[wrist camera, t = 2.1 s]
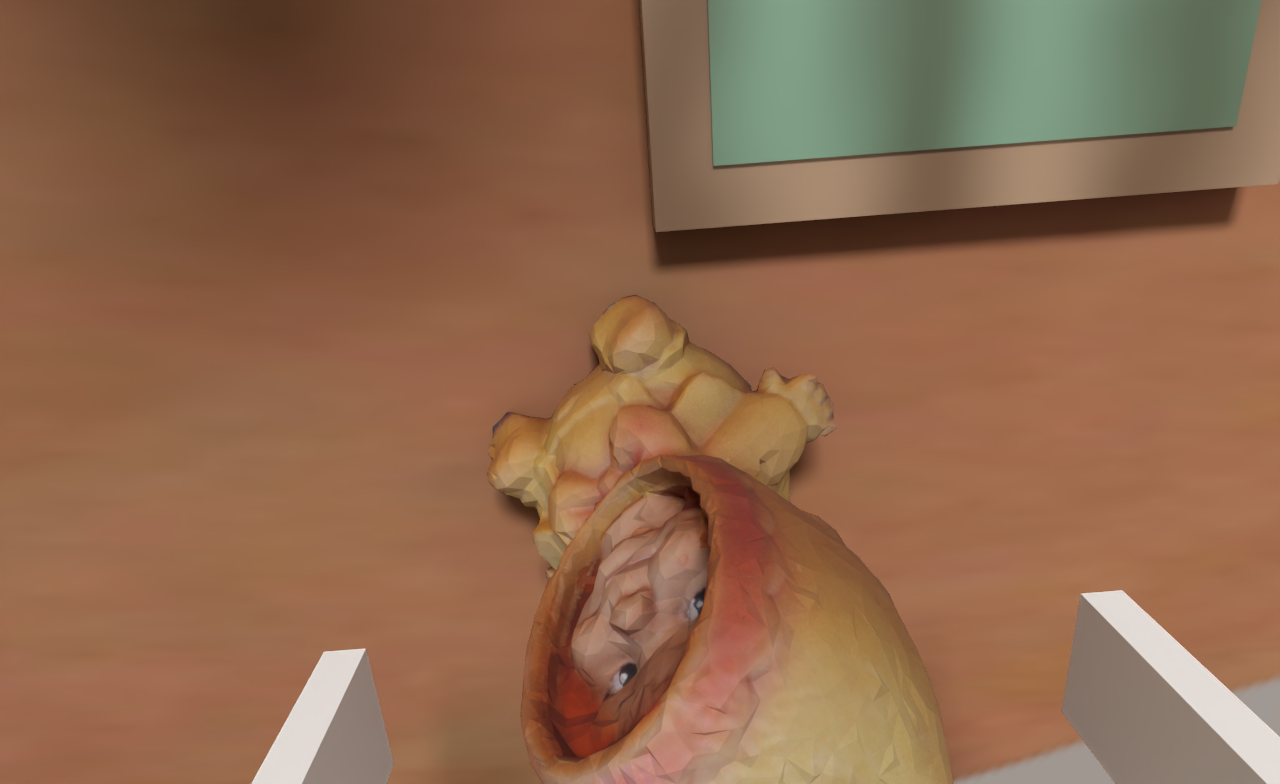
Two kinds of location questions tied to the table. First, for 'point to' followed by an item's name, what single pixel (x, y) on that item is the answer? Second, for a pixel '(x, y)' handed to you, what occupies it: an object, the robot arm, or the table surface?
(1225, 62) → the green framed board
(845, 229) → the table surface
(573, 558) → the figurine
